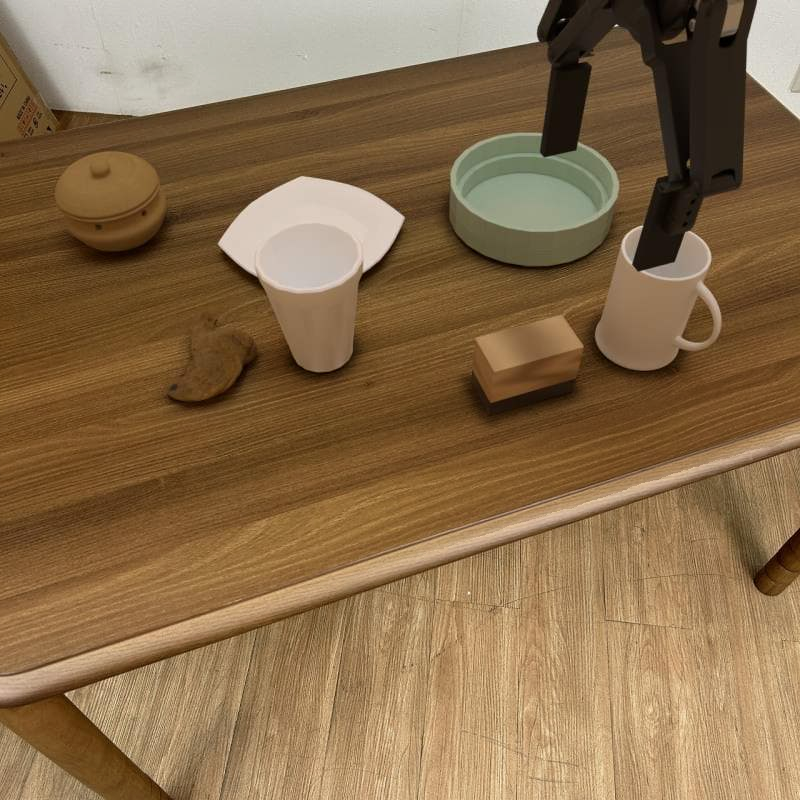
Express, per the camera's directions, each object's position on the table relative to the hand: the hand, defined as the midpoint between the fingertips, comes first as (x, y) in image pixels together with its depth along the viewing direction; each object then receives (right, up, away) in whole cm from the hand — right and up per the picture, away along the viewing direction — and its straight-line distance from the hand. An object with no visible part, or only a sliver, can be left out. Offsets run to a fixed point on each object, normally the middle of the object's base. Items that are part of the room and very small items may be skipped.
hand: (601, 203), depth 52 cm
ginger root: (-34, -11, +24) cm, 43 cm away
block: (-2, -13, +22) cm, 25 cm away
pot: (-47, +6, +38) cm, 61 cm away
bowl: (+2, +9, +39) cm, 40 cm away
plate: (-24, +5, +36) cm, 44 cm away
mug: (+11, -9, +25) cm, 29 cm away
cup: (-22, -9, +25) cm, 35 cm away
